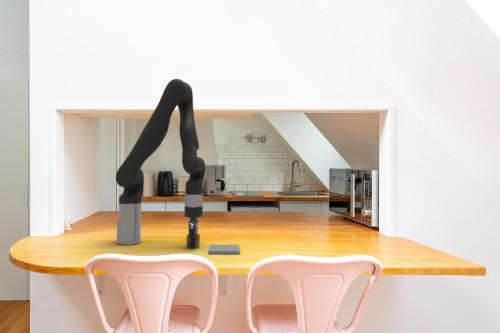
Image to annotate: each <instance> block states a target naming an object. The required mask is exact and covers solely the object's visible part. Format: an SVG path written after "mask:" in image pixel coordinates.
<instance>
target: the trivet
mask: <svg viewBox="0 0 500 333" xmlns="http://www.w3.org/2000/svg"><path fill="white" fill-rule="evenodd" d="M208 247H209V248H208V255H240V254H241V251H240V250H241V249H240V244H209V246H208Z"/></svg>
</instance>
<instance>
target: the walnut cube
mask: <svg viewBox="0 0 500 333" xmlns="http://www.w3.org/2000/svg"><path fill="white" fill-rule="evenodd" d="M191 235H194V234H191ZM185 240H186V244H185V246H186V247H185V249H191V248H190V238H189V233H188V234H187V235H186V239H185ZM200 242H201V235H200V233H197V234H196V238H195V248H194V249H199V248H200V247H201V246H200V245H201V244H200Z"/></svg>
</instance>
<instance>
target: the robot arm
mask: <svg viewBox="0 0 500 333" xmlns="http://www.w3.org/2000/svg"><path fill="white" fill-rule="evenodd" d="M193 93H194V92H193V88H192V86H191V85H190V84H189V83H188V82H186V81H184V80H182V79H181V78H174V79H171V80H170V81H169V82H168V83H167V84H166V86H165V88H164V90H163V92H162V95H161V97H160V99H159V102H158V103H157V104H156V105H157V106H156V108H155V109H154V111H153V113H152V114H151V116H150V118H149V119H148V121H147V123H146V124H145V126H144V128H142V131H141V133H140V135H139V137H138V138H137V140H136V142H135V144H134V145H133V147H132V149H131V150H130V153H129V154H128V156H126V158H125V159H124V161H123V162H122V164H121V165H120V166H119V167H118V169H117V170H116V174H115V181H116V183H117V185H118V186H119V187H121V188H123V191H122V193H121V194H120V196H119V198H118V220H117V221H116V244H117V245H123V246H124V245H125V246H126V245H127V246H128V245H130V246H131V245H137V244H140V243H141V241H142V240H141V238H142V237H141V236H142V234H141V231H142V199H143V196H144V185H145V175H144V171H143V169H142V166H143V165H144V163H145V162H146V161H147V160H148V159H149V157H151V156H152V155H153V154H154V153H155V152H156V151H157V150H158V149H159V148H160V146H161V144H162V143H163V141H164V139H165V138H166V137H167V134H168V131H169V127H170V121H171V118H172V115H173V113H174V111H175V109H176V108H178V109H177V110H178V113H179V130H178V131H179V132H178V133H179V140H180V143H181V148H182V152H181V163H182V164H181V165H182V169H183V170H184V171H185V173H187V174H188V175H189V178H188V180H187V181H186V182H185V192H184V193H185V195H184V209H183V210H184V214H183V215H184V217H186V218H189V221H188V222H187V225H188V234H189V238H190V248H189V249H196V248H195V238H196V234H198V231H199V223H200V222H199V221H200V220H198V218H202V217H203V214H204V213H203V212H204V197H203V189H204V188H203V183H204V179H205V174H206V162H205V160H204V159H203V158H202V157H199V156H198V150H199V149H200V143H199V138H198V133H197V127H196V122H195V114H194V96H193ZM191 234H194V235H191Z"/></svg>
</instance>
